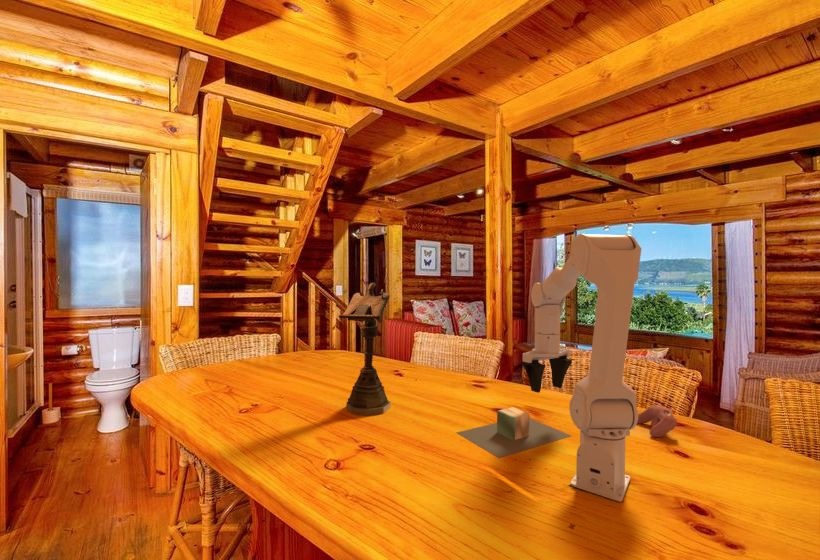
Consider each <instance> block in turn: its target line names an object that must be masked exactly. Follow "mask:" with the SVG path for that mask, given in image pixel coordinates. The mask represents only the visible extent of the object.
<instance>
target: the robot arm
mask: <svg viewBox="0 0 820 560" xmlns="http://www.w3.org/2000/svg"><path fill="white" fill-rule="evenodd" d="M569 254H570V255H569V257H568V259H567V260H566V261H565V263H564V264H563V265H562V267H561V266H559V267H557V266H556V267H555V268H554V269H553V270H552V271H551V272H550V273H549V275H548V276H547V277H546V278H545V279H544V280H543V282H534V284H533V285H532V287H531V291H530V292H531V293H530V297H531V302H532V305H533V306H534V307H535V309H534V347H533V348H532V349H531V350H530V351H527V352H523V353H522V360H521V365H522V367H523V369H524V370H525V372H526V376H527V378H528V382H529V385H530V386H529V387H530V391H531V392H534V393H537V394H539V393H541V390H542V380H543V379H542V378H543V375H544V371H545V368H546V364H543V363H540V361H545V360H547V361H548V362H549V365H550V371H551V384H552V387H555V388H557V389H562V387H563V384H564V380H565V376H566V374H567V372H568V370H569V368H570V366H571V365H572V363H573V361H572V358H570V357H571V349H570V348H565V347H561V315H562V314H563V313H564V308H563V307H564V305H565V303H566V296H567V295H568V294H570V292H571V291H573V290H574V289H575V287H576V286H577V284H578V283H577V282H578V278H580V277H581V276H582V277H583V279H585V280H586V281H587V282H589V283H591V284H594V285H595V287H596V288H597V300H596V308H595V317H594V318H595V319H594V325H593V326H594V327H593V333H592V334H593V335H592V345H591V354H590V355H591V356H590V364H589V373H588V375H586V376H584V377H583V378H582V379H580V380H579V381H578V382H577V383H575V384H574V390H573V393H572V396H571V398H570V401H569V409H568V410H569V415H570V418H571V421H572V423H573V424H574V425H575V427H576V428H577V429H578V430H579V433H580V435H579V443H580V444H579V446H578V448H577V450H576V463H575V464H576V473H575V475H574V476H573V478H571V481H570V486H571V487H573V488H577V489H580V490H584V491H586V492H588V493H592V494H595V495H599V496H601V497H604V498H607V499H611V500H614V501H616V502H623V500H624V498H625V494H626V492H627V489H628V486H629V484H630V481H631V476H630V475H628V474H626V437H629V436H631V433H630V432H631V430H634V429H635V428H636V427H637V424H638V423H637V421H638V414H639V411H638V406H637V398H638V397H637V396H638V395H637V393H636V392H635V390H634V389H633V388H632V387H631V386H629V385H628V384H627V383H626V382H625V381H624V380H623V378H624V370H625V364H626V363H625V361H626V354H627V347H628V339H629V331H630V330H629V329H630V322H631V316H632V315H631V313H632V309H633V308H632V306H633V301H634V300H633V297H634V291H635V283H636V282H637V281H638V278H639V272H640V265H641V262H640V261H641V255H642V247H641V245H640V244H639V243H638V241H637V239H636V238H635V237H634V236H633V235H631V234H622V235H621V234H619V235H617V234H585V233H578V234H577V235H576V236H575V237H574V239H573V240H572V241H571V244H570V251H569Z"/></svg>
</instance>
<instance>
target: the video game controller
mask: <svg viewBox="0 0 820 560" xmlns="http://www.w3.org/2000/svg"><path fill="white" fill-rule="evenodd" d="M677 421H678V420H677V418H676V417H675V416H674V413H673V412H672V411H671V410H670V409H668V408H667V407H665V406H662V405H656V404H654V403H653V405H650V406H648V408H647V409H645V410H643V411H642V412H640V413H638V421H637V424H641V425H643V424H647V423H650V426H651V427H650V430H649V435H650V436H651V437H652V438H660V437H664V436H666V435H667V434H668V433H670V431H672V430H674V429H675V428H676V426H677V424H678V423H677Z"/></svg>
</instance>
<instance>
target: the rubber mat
mask: <svg viewBox="0 0 820 560" xmlns="http://www.w3.org/2000/svg"><path fill="white" fill-rule="evenodd" d="M455 433H456V434H458V435H459V436H461V437H463V438H464V439H466V440H467V441H469V442H471V443H473V444H474V445H476V446H477V447H479V448H481V449H482V450H485V452H486V451H487V452H488V453H490V454H491V455H493V456H495V457H497V458H498V459H501V458H505V457H507V456H511V455H515V454H517V453H521V452H525V451H527V450H531V449H534V448H538V447H540V446H544V445H547V444H551V443H553V442H557V441H560V440H564V439H567V438H570V437H572V435H571V434H569V433H566V432H564V431H562V430H559V429H556V428H555V427H552V426H550V425H547V424H546V423H542V422H540V421H537V420H535V419H533V418H530V417H529V436H527V437H524V438H520V439H517V440H511V439H509V438H507V437H505V436H503V435H501V434H499V433H497V422H495V423H490V424H485V425H482V426H478V427H474V428H469V429H466V430H460V431H457V432H455Z"/></svg>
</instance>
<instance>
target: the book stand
mask: <svg viewBox="0 0 820 560" xmlns="http://www.w3.org/2000/svg"><path fill="white" fill-rule="evenodd" d="M375 286H376V282H371V283H369V284H368V287H367V295H362V294H361V293H360V292H356V293H354V294H353V295H352V297H351V299H350V302H349V303H348V305H347V307H346V309H345V311H344V312H343V314H339V315H338V318H339V319H338V320H337V321H336V322H337V323H339V321H340V320H342V319H347V322H349V321H353V322H362V323H361V324H362V325H361V326H359V330H360V336H361V337H362V338H363V340H364V352H363V353H362V354H363V355H364V365H363V367H362V368H361V369H360V370H359V375H358V378H357V379H356V381H355V382H354V385H353V386H352V388H351V393H350V395H349V398H347V401H346V403H345V405H346V409H347V410H348V411H349V413H350V414H352V415H353V414H354V415H361V416H367V417H369V416H375V415H380V414H381V415H383V414H384V413H386V412H387V411H388V410H389V409H390V408H391V400H388V396H387V394H386V392H385V386H384V385H383V383H382V381H381V379H380V378H379V374H378V371H377V369H376V368H375V366H373V359H374V354H375V352H374V340H375V338H376V337H377V336H378V330H379V326H378V325H377V322H379V324H381V323H382V321H383V320H382V319H383V314H384V311H385V308H386V306H387V304H388V301H389V300H390V297H391V295H390V294H389V293H386V292H384V289H383V288H382V289H381V290H380V292H379V294H380V295H378V296H375V294H374V289H375ZM352 313H353V314H352Z"/></svg>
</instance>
